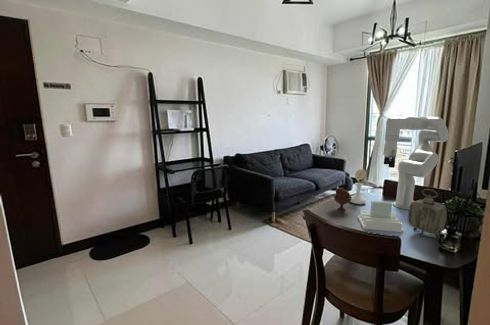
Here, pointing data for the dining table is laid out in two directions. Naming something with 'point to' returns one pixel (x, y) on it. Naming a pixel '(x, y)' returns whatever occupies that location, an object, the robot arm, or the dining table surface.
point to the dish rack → (379, 222)
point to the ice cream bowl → (342, 198)
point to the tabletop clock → (427, 215)
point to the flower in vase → (357, 197)
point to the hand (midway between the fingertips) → (388, 165)
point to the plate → (381, 209)
